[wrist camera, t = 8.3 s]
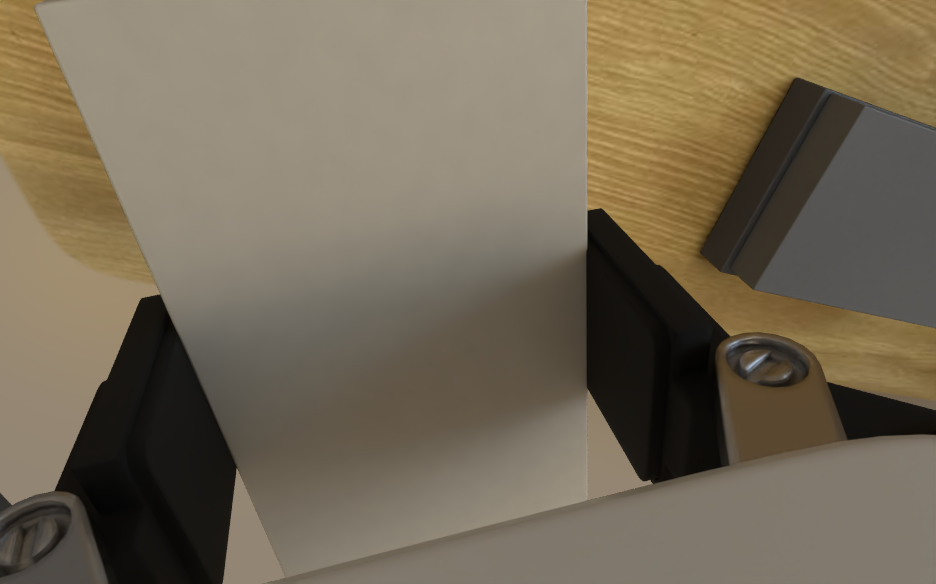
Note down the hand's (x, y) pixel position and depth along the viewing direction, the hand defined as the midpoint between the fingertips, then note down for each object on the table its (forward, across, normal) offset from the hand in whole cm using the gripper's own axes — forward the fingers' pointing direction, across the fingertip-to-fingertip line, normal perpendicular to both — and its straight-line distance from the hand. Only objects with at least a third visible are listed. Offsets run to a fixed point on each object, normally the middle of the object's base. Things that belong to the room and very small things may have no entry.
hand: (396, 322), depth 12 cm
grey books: (+18, -26, +11) cm, 34 cm away
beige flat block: (+1, 0, 0) cm, 1 cm away
